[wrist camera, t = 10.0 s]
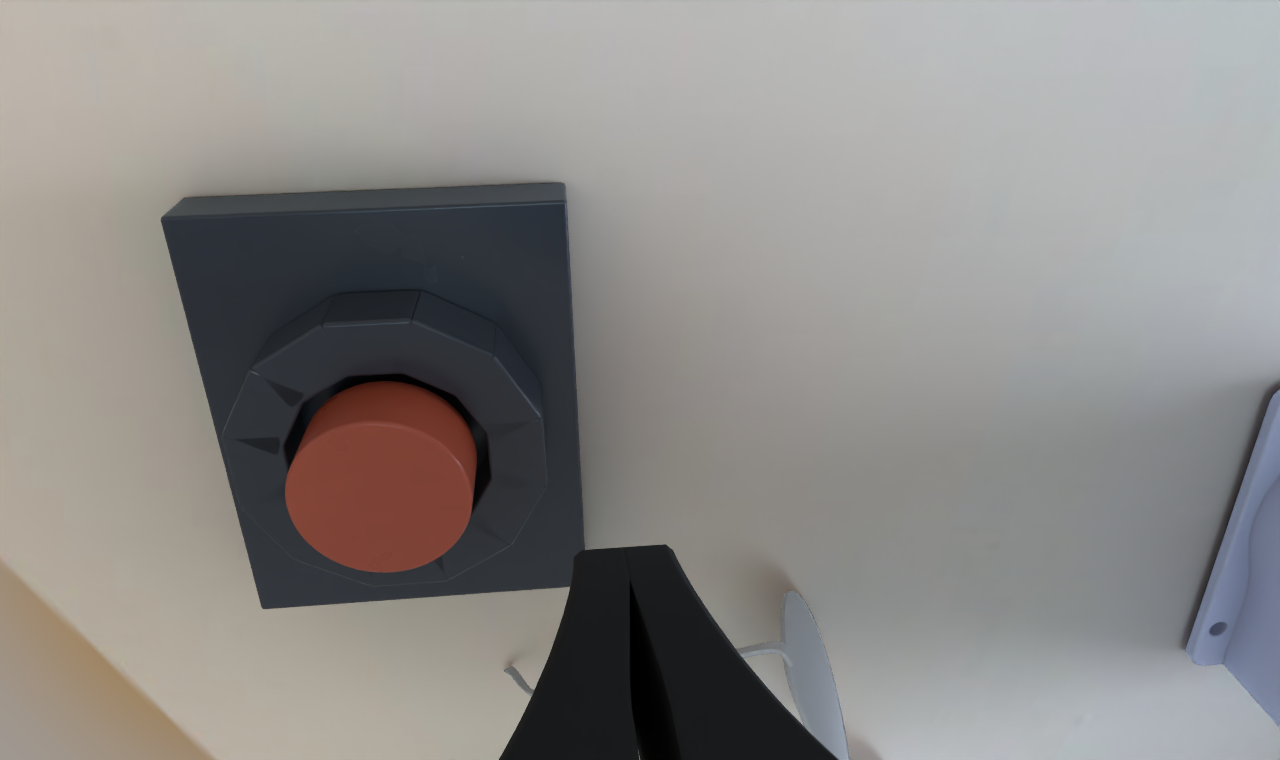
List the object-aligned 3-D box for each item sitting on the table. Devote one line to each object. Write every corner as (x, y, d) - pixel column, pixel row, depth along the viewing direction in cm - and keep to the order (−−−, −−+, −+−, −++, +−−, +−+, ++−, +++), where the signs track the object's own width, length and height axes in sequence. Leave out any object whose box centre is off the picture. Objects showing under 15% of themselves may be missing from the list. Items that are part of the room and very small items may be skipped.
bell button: (484, 517, 21) (480, 567, 19) (319, 528, 21) (302, 580, 19) (469, 374, 19) (462, 416, 18) (289, 384, 19) (267, 428, 17)
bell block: (584, 552, 25) (589, 630, 22) (275, 573, 24) (243, 657, 22) (565, 181, 20) (568, 225, 18) (182, 197, 20) (127, 244, 17)
